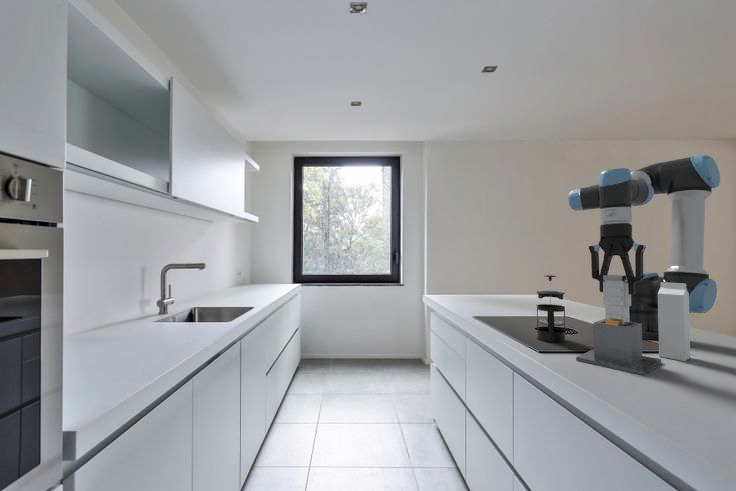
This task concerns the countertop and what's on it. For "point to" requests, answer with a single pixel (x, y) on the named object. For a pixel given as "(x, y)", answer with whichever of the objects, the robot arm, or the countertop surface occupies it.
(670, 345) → the milk
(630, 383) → the countertop surface
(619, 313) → the column
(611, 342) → the base
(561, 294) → the french press
